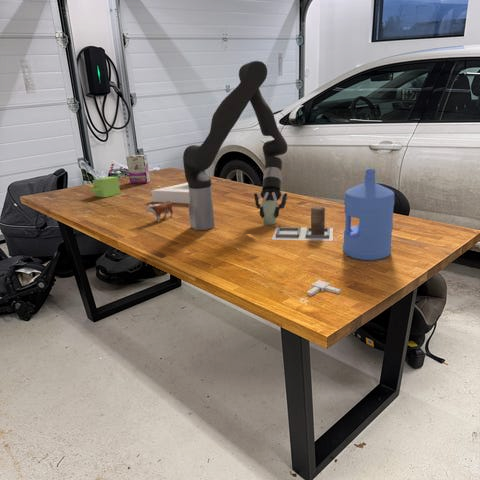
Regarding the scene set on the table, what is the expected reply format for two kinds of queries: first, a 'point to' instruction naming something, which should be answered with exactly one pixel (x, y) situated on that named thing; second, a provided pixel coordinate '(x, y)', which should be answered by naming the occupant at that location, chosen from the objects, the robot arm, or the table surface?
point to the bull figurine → (160, 209)
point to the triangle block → (172, 194)
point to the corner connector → (322, 288)
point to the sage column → (269, 212)
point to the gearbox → (106, 187)
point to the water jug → (368, 220)
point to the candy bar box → (138, 169)
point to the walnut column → (318, 220)
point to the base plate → (301, 234)
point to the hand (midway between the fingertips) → (269, 216)
